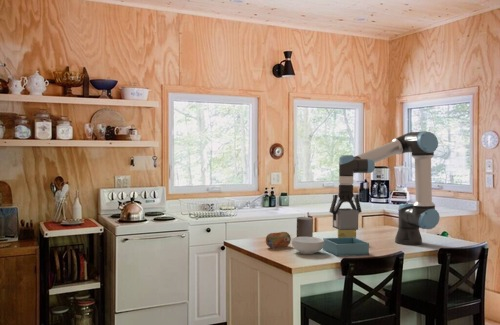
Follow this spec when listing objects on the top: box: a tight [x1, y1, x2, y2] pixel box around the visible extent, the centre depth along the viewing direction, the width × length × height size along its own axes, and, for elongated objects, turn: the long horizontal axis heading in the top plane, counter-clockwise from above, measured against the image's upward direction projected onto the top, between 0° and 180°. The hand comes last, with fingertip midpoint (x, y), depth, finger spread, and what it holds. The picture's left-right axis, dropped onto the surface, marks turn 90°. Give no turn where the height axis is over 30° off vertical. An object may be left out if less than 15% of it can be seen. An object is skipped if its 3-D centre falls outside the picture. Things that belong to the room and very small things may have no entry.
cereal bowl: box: [291, 236, 324, 255], centre depth 254 cm, size 17×17×7 cm
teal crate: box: [322, 237, 370, 257], centre depth 256 cm, size 18×18×6 cm
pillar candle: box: [296, 215, 314, 237], centre depth 287 cm, size 10×10×15 cm
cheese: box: [337, 229, 357, 238], centre depth 279 cm, size 10×11×10 cm
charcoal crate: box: [332, 207, 360, 231], centre depth 256 cm, size 10×10×10 cm
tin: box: [265, 231, 292, 249], centre depth 268 cm, size 15×3×8 cm, turn 117°
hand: (345, 226), depth 256 cm, fingers closed on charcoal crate, 10 cm apart
